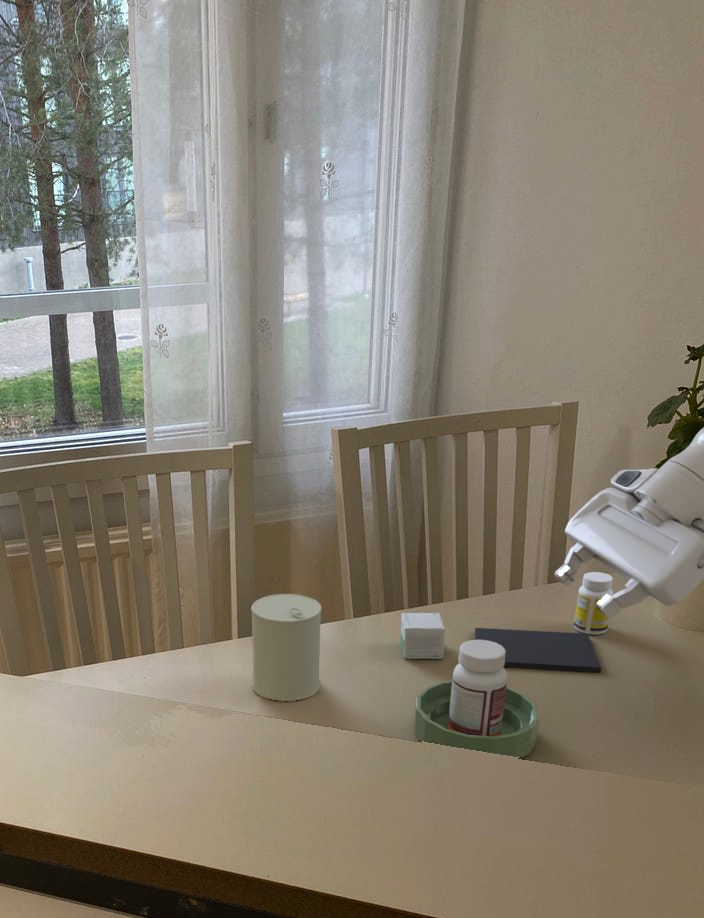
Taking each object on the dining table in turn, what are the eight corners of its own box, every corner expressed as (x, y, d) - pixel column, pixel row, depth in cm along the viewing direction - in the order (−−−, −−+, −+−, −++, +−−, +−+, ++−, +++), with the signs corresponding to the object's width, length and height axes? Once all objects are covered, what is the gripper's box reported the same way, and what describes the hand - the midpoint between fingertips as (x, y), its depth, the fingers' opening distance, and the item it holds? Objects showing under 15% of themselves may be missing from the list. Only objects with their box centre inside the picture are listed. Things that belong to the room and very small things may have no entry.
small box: (399, 642, 134) (401, 611, 132) (438, 642, 134) (441, 612, 132) (402, 659, 129) (404, 628, 127) (443, 660, 129) (446, 628, 126)
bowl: (527, 712, 115) (531, 683, 113) (541, 774, 102) (545, 742, 101) (414, 704, 117) (416, 676, 116) (414, 764, 105) (416, 733, 103)
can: (273, 708, 117) (273, 623, 112) (239, 679, 125) (238, 598, 120) (333, 691, 121) (336, 608, 116) (297, 664, 129) (297, 585, 123)
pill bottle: (491, 719, 113) (501, 636, 108) (507, 745, 107) (518, 659, 102) (442, 721, 112) (449, 638, 108) (455, 747, 107) (463, 661, 102)
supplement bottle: (610, 626, 137) (619, 574, 134) (603, 638, 134) (612, 584, 130) (577, 620, 140) (585, 568, 136) (569, 631, 136) (577, 579, 133)
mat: (587, 638, 134) (587, 633, 133) (600, 672, 124) (601, 667, 124) (474, 632, 137) (475, 627, 136) (479, 665, 127) (480, 660, 127)
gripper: (752, 557, 93) (646, 651, 96) (639, 500, 111) (553, 580, 114) (722, 518, 91) (614, 615, 94) (611, 466, 109) (524, 549, 112)
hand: (580, 595), depth 104 cm, fingers open, 8 cm apart
